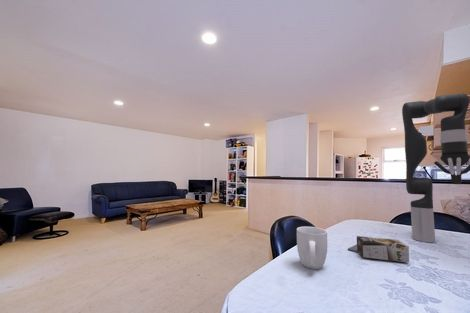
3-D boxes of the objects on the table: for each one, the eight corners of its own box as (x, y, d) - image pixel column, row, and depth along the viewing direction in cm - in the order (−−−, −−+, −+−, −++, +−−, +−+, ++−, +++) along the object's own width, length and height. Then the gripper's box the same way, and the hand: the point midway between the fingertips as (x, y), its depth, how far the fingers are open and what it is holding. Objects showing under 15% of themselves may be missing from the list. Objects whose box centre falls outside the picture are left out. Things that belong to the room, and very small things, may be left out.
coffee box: (409, 245, 83) (362, 241, 87) (409, 263, 82) (362, 258, 86) (398, 238, 91) (356, 235, 96) (398, 254, 91) (356, 250, 95)
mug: (331, 279, 69) (330, 238, 71) (296, 274, 73) (295, 235, 74) (326, 261, 84) (325, 227, 85) (297, 258, 87) (296, 225, 88)
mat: (362, 242, 108) (362, 241, 108) (401, 251, 96) (401, 250, 96) (347, 250, 97) (347, 248, 97) (389, 261, 85) (389, 259, 85)
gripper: (478, 141, 85) (481, 184, 84) (433, 144, 95) (435, 183, 94) (477, 138, 80) (481, 185, 79) (430, 142, 90) (432, 183, 89)
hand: (456, 184), depth 86 cm, fingers closed
